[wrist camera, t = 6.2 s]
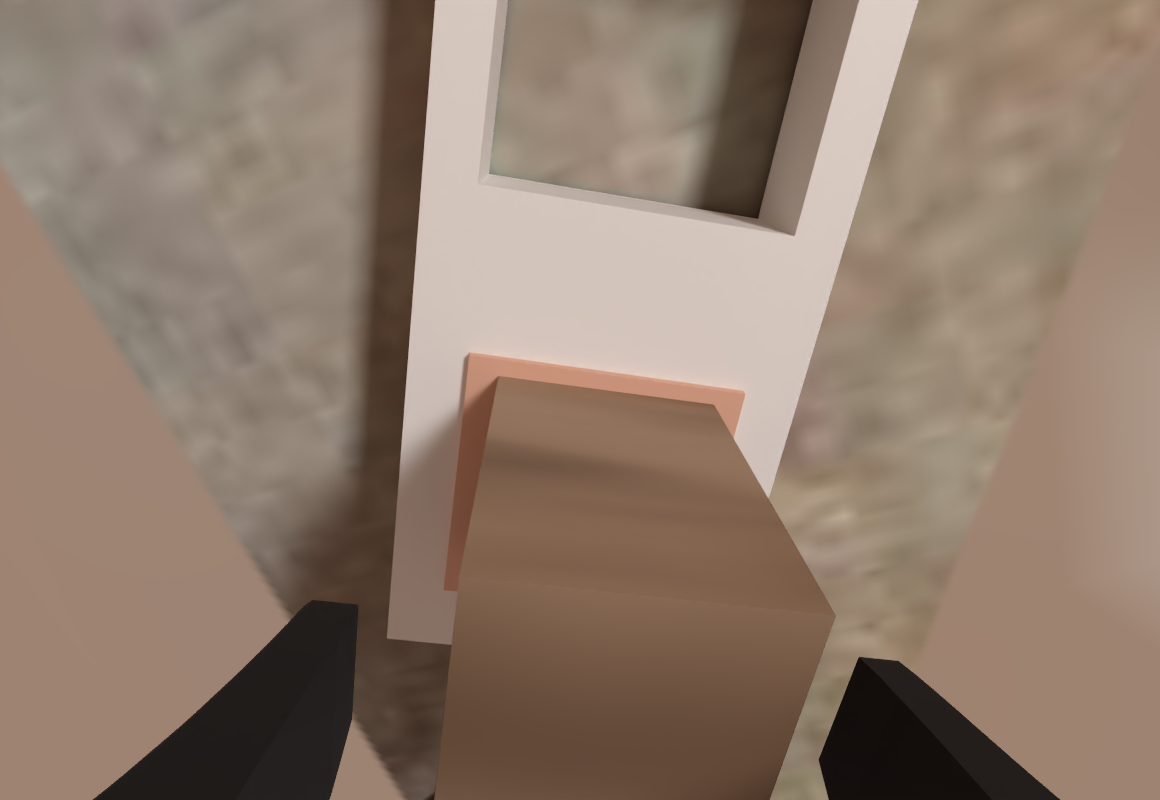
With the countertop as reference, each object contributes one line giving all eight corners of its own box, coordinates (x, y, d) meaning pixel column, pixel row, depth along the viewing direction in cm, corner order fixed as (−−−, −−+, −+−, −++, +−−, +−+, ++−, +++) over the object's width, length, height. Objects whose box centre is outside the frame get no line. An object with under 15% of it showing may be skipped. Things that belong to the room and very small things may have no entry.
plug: (670, 581, 16) (744, 867, 10) (476, 561, 15) (429, 846, 9) (713, 404, 14) (835, 615, 8) (498, 375, 14) (458, 576, 8)
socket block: (696, 605, 19) (718, 677, 17) (407, 573, 19) (384, 644, 16) (913, -184, 13) (1001, -258, 10) (480, -284, 12) (462, -389, 10)
